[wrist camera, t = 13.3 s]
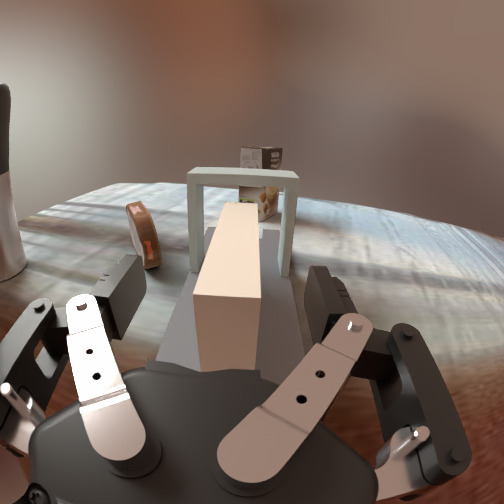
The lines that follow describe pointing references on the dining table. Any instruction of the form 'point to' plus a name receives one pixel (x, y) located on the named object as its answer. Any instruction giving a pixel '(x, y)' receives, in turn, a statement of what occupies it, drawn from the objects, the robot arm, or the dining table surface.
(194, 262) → the tunnel
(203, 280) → the block
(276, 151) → the coffee box
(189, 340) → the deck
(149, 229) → the tin
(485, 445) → the dining table surface
